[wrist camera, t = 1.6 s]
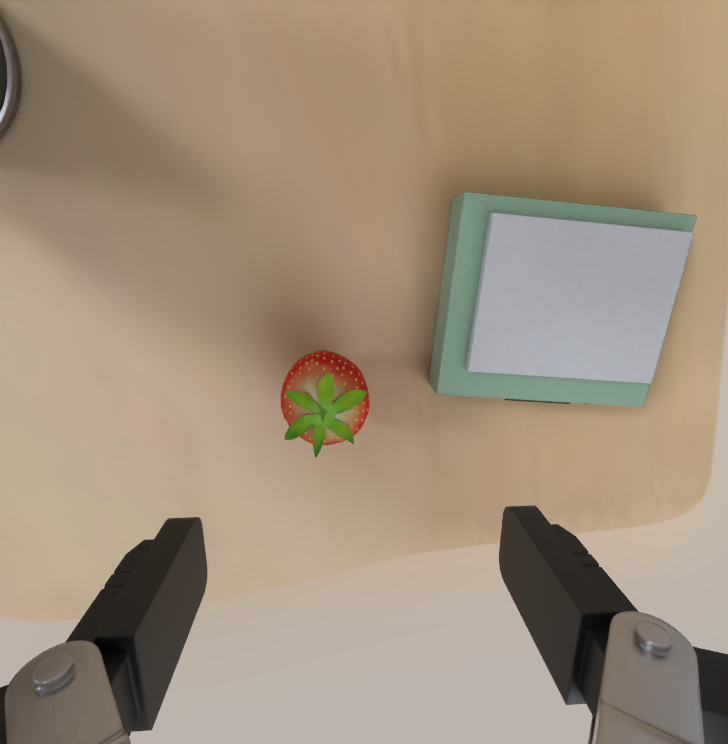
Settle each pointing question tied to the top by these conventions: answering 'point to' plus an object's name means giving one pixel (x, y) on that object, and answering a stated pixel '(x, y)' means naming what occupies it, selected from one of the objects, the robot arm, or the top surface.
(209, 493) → the top surface
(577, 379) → the scale
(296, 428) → the fruit
